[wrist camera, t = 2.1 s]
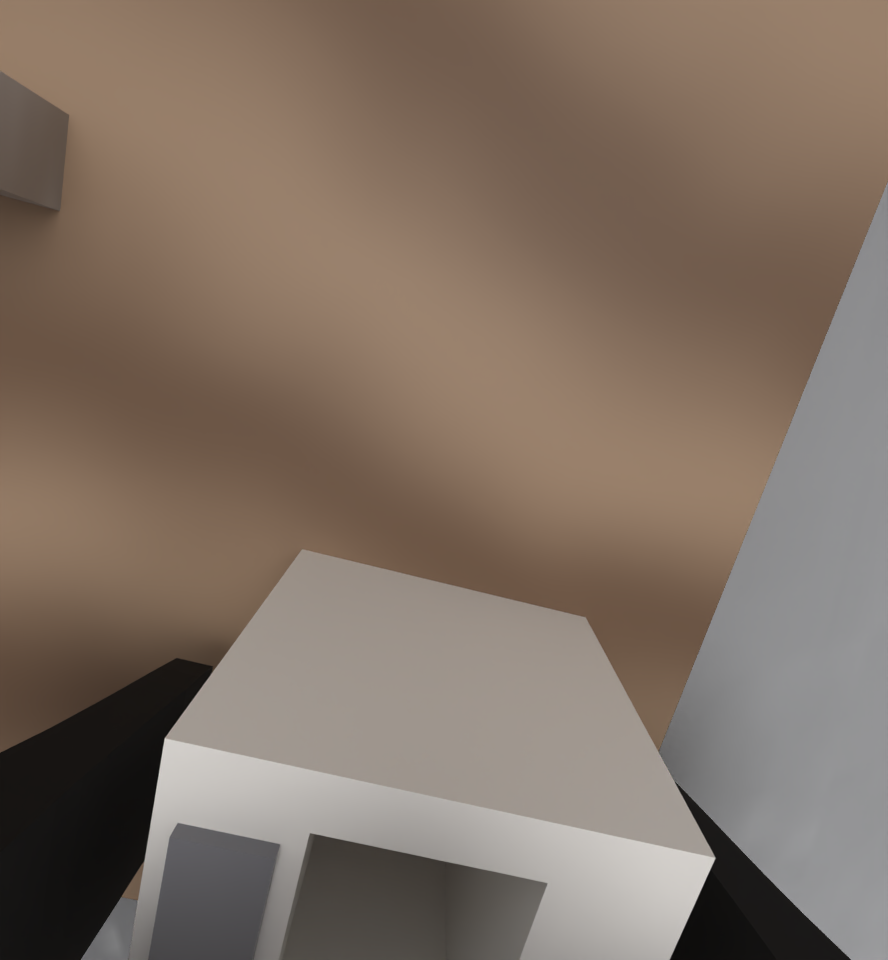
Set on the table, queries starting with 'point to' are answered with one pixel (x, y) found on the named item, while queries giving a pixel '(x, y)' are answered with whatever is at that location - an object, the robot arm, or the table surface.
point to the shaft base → (408, 309)
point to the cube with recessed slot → (413, 788)
